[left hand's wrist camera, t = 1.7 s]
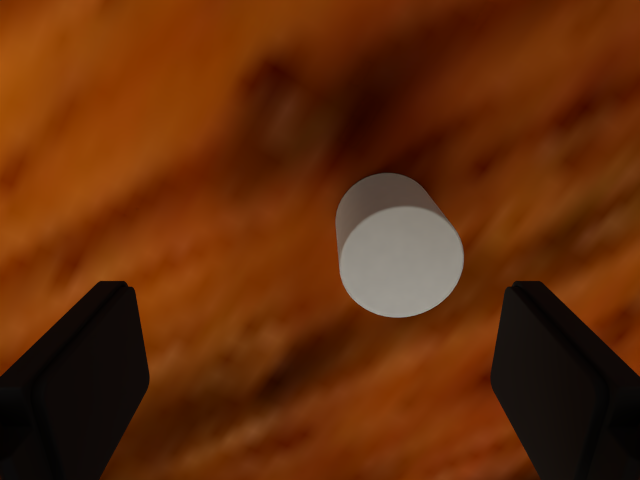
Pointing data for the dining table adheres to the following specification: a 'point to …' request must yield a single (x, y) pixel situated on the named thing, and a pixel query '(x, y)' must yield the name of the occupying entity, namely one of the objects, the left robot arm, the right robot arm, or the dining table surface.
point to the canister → (396, 247)
